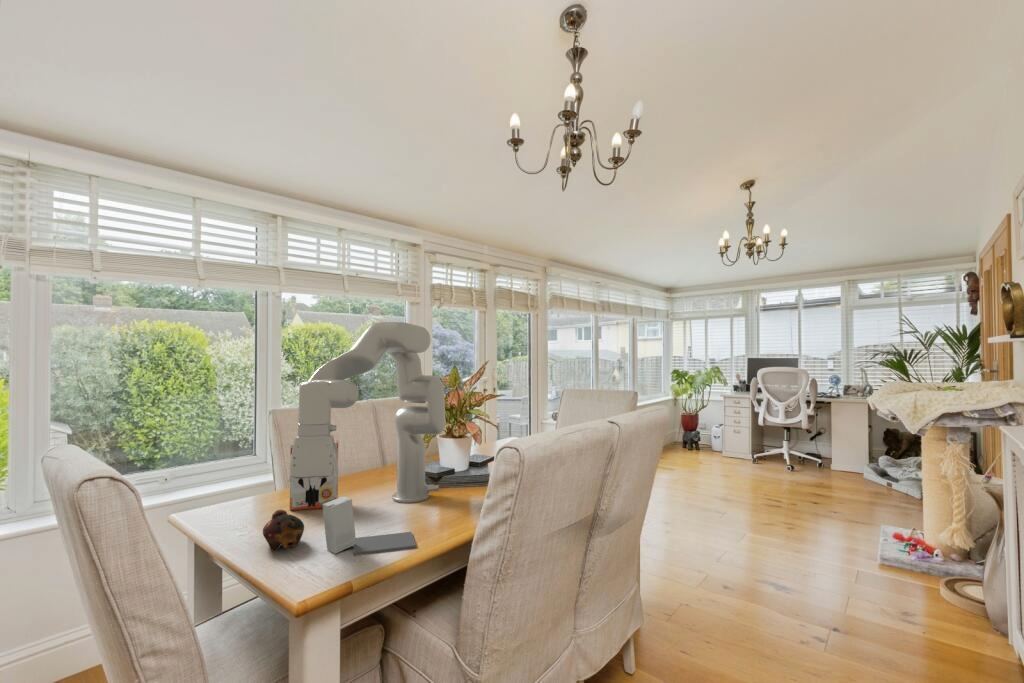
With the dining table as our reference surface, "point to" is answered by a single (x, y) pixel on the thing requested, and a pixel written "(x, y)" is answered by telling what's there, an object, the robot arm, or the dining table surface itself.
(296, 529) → the decorative turtle
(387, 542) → the slate mat
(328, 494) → the cracker box
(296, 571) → the dining table surface
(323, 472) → the robot arm
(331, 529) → the skincare box
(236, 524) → the dining table surface
